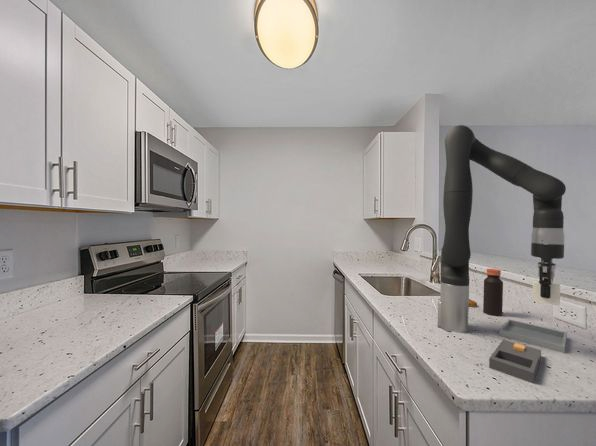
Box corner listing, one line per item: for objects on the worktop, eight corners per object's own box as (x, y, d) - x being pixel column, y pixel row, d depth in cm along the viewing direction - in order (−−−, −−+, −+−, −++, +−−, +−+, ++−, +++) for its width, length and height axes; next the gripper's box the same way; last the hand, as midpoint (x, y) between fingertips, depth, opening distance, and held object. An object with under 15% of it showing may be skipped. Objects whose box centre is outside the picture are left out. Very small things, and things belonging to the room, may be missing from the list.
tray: (499, 336, 91) (499, 329, 91) (508, 325, 102) (508, 319, 102) (564, 354, 79) (564, 346, 79) (566, 339, 90) (566, 332, 90)
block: (532, 301, 82) (532, 282, 82) (534, 298, 86) (534, 280, 85) (559, 305, 78) (559, 286, 78) (559, 302, 81) (560, 283, 81)
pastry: (476, 305, 128) (476, 297, 128) (477, 309, 122) (477, 301, 122) (454, 301, 133) (454, 294, 133) (454, 305, 127) (454, 297, 127)
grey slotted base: (489, 367, 71) (489, 355, 71) (502, 347, 83) (503, 336, 83) (533, 383, 65) (533, 369, 64) (541, 358, 77) (541, 347, 77)
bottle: (481, 314, 114) (482, 269, 114) (485, 311, 119) (486, 267, 118) (500, 318, 109) (501, 271, 109) (503, 315, 113) (505, 269, 113)
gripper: (533, 240, 89) (532, 290, 89) (528, 242, 80) (527, 297, 80) (565, 242, 84) (563, 294, 84) (563, 244, 74) (561, 303, 74)
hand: (545, 295), depth 82 cm, fingers closed on block, 4 cm apart
